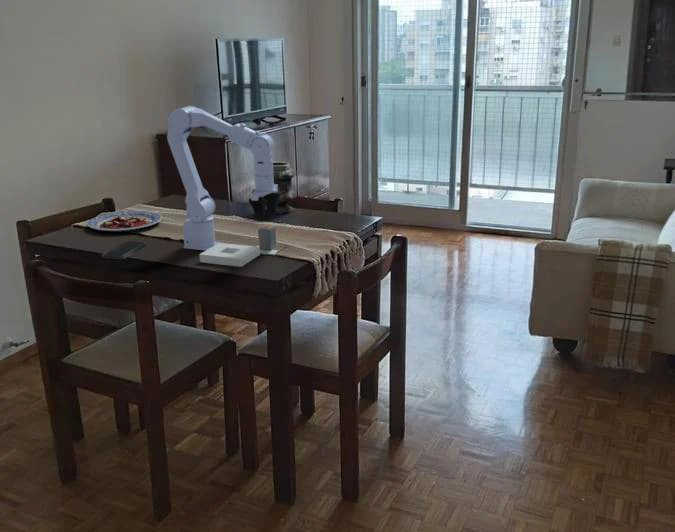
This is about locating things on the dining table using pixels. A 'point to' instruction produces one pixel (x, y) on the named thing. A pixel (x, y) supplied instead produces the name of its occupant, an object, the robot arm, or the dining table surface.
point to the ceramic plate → (123, 221)
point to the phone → (123, 250)
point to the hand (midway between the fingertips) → (266, 218)
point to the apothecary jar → (283, 185)
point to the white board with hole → (230, 254)
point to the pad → (268, 252)
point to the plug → (267, 237)
